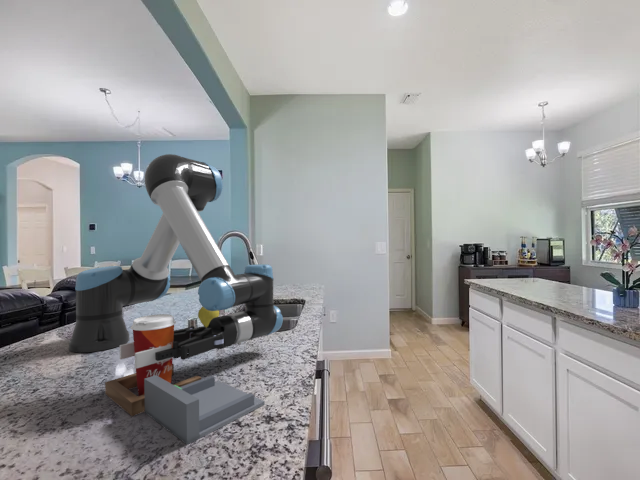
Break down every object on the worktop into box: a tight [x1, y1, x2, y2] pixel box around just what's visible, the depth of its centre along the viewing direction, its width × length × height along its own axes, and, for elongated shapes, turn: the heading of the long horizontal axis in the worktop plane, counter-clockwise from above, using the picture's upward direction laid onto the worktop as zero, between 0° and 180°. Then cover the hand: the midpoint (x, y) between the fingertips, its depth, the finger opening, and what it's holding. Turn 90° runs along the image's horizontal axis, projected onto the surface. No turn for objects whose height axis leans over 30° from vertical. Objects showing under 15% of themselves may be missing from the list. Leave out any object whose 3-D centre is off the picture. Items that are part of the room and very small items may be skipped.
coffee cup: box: [130, 313, 177, 396], centre depth 65 cm, size 8×8×15 cm
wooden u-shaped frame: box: [104, 363, 202, 417], centre depth 65 cm, size 13×14×2 cm
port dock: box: [144, 375, 266, 446], centre depth 58 cm, size 15×15×6 cm
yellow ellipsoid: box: [197, 306, 220, 328], centre depth 106 cm, size 7×7×10 cm
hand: (127, 356), depth 62 cm, fingers closed on coffee cup, 7 cm apart
